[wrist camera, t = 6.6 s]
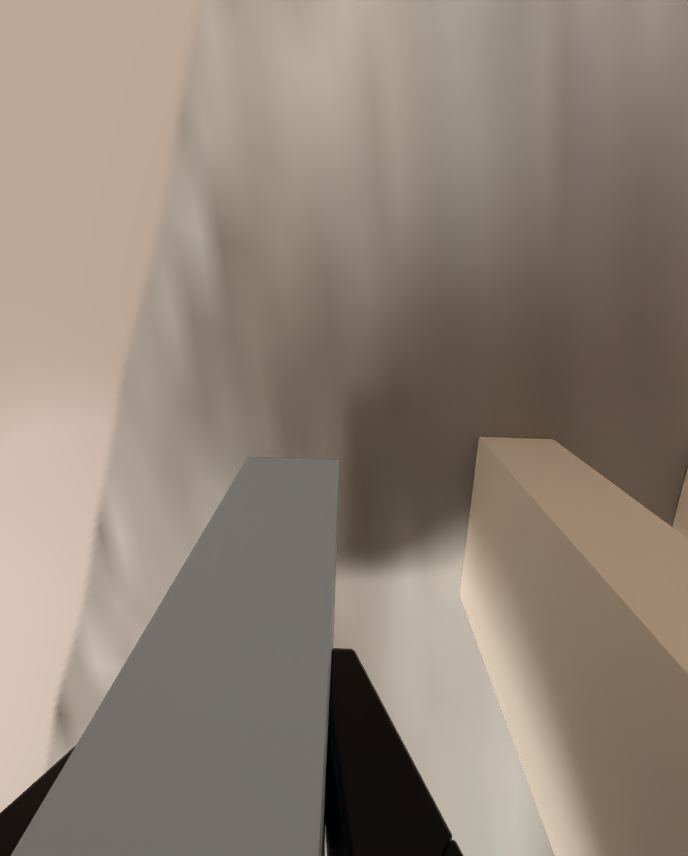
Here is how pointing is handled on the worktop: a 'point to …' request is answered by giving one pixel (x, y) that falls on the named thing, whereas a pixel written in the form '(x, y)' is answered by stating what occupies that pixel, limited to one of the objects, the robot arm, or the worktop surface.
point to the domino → (218, 693)
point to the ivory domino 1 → (583, 646)
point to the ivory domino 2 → (682, 510)
